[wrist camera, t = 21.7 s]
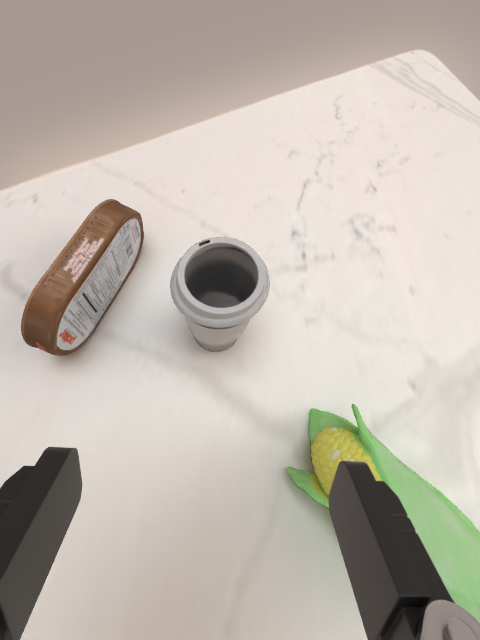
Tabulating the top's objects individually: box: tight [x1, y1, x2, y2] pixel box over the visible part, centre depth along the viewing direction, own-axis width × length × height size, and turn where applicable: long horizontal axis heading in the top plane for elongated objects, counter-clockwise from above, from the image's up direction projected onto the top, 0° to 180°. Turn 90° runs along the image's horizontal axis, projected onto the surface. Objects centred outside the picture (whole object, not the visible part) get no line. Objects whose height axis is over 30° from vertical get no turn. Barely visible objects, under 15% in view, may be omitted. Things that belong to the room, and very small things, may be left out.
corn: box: [287, 404, 480, 623], centre depth 26 cm, size 8×8×20 cm
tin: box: [21, 199, 144, 356], centre depth 30 cm, size 15×3×8 cm, turn 157°
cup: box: [170, 237, 270, 352], centre depth 28 cm, size 7×7×12 cm
